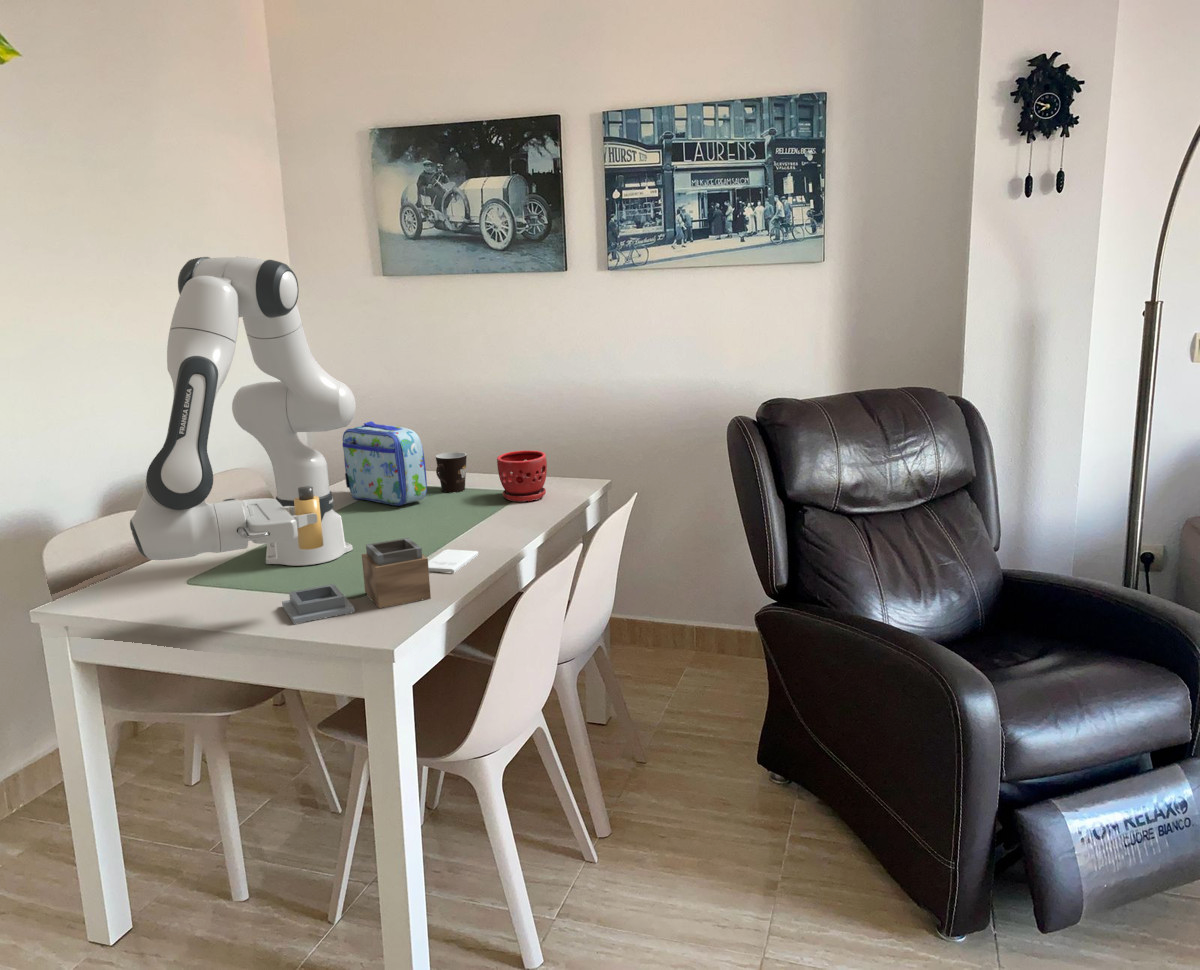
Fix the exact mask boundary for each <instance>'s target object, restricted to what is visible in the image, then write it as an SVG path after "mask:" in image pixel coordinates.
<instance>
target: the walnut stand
mask: <svg viewBox="0 0 1200 970" xmlns="http://www.w3.org/2000/svg"><path fill="white" fill-rule="evenodd" d="M365 549H366V553H362V554H361V560H362V561H361V562H362V572H363V583H364V593H365V592H366V593H367V595H368V596H369V597H370V598H371V599H372V600H373V601H374V602H375V603H374V602H373V601H372V600H371V599H370V598H369V597H368V596H367V595H366V596H367V597H368V598H369V599H370V600H371V601H372V602H373V603H374V604H375V606H376V607H377V608H378V607H379V608H380V609H383V608H382V607H385V608H389V607H388V606H390V607H394V606H393V605H395V606H399V604H400V605H404V604H403V603H405V604H410V603H414V602H413V601H415V602H419V601H418V600H420V601H423V600H422V599H425V600H428V599H427V598H430V599H432V598H431V596H432V595H431V585H430V583H431V582H430V572H429V569H428V561H429V560H428V559H429V558H428V557H426V556H425V555H424V554H423V549H422V547H421V546H419V545H418V544H417V543H416V542H414V541H413V540H412V539H411V538H409V537H405V538H398V539H393V540H386V541H380V542H375V543H369V544H365ZM409 602H410V603H409ZM379 608H378V609H379Z"/></svg>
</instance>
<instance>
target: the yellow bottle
mask: <svg viewBox="0 0 1200 970" xmlns="http://www.w3.org/2000/svg"><path fill="white" fill-rule="evenodd" d="M298 494H299V497H298V498H295V499H294V506H295V515H297V516H298V515H303V514H305V513H311V512H314V513H315V514H316V515H317V523H314V524H308V525H305V526H303V527H300V528H297V530H298V545H299V548H300V549H316V548H320V547H322V546H323V545H324V544H323V534H322V524H321V514H320V503H319V497H318V496H314V495H313V487H311V486H306V487H300V488H298Z"/></svg>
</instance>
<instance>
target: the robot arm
mask: <svg viewBox="0 0 1200 970" xmlns="http://www.w3.org/2000/svg"><path fill="white" fill-rule="evenodd" d="M177 277H178V278H177V290H178V293H179V297H178V299H177V302H176V305H175V307H174V311H173V314H172V319H171V321H170V328H169V332H168V337H167V348H166V363H167V364H166V366H167V367H166V369H167V371H168V374H169V376H170V378H171V381H172V386H173V387H172V388H173V400H172V406H171V411H170V416H169V417H170V418H169V423H168V427H167V428H168V429H167V433H166V437H165V440H164V443H163V446H162V447H161V449H160V450H159V451H158V452H157V453H156V455H155V457H154V458H153V459H152V461H151V462H150V464H149V466H148V468H147V470H146V471H147V472H146V475H145V476H146V478H145V483H144V488H143V492H142V494H141V495H142V496H141V499H140V501H139V503H138V506H137V508H136V510H135V512H134V514H133V516H132V517H131V518H130V520H129V527H130V531H131V534H132V538H133V540H134V543H135V545H136V548H137V549H138V552H139V553H140V554H141V555H142V556H143V557H144V558H147V559H148V560H152V561H169V560H180V559H189V558H193V557H196V556H198V555H201V554H204V553H214V554H215V553H216V554H218V553H226V552H232V551H238V550H244V549H248V547H249V542H250V541H251V542H252V543H253V544H258V545H265V544H266V554H265V564H267V565H283V566H284V565H286V566H310V565H311V566H312V565H316V564H323V563H327V562H330V561H331V562H332V561H333V560H336V559H339V558H340V557H342V556H343V555H345V553H348V552H351V551H353V550H354V549H353V548H354V547H353V545H352V544H351V543H349V542H346V541H345V539H346V538H345V534H344V526H343V521H342V516H341V514H339V513H338V512H336V511H335V510H334V509H333V508H334V497H333V493H332V491H331V490H330V482H329V481H330V480H329V472H328V470H329V469H328V462H327V460H326V458H325V457H324V455H323V454H322V453H321V452H320V451H319V450H317V449H315V448H313V447H310V446H308V445H306V444H305V443H304V442H303V441H302V440H301V438H300V437H299V435H298V433H311V432H313V433H315V432H318V433H319V432H330V431H334V430H338V429H343V428H346V427H348V425H350V424H351V422H352V421H353V419H354V416H355V414H356V411H357V406H356V405H357V404H356V397H355V395H354V393H353V391H352V390H351V388H350V387H349V386H348V385H347V384H346V383H344V382H342V381H340V380H338V379H336V378H335V377H333V376H332V375H330V374H329V373H328V372H327V371H326V370H324V368H323V367H322V366H321V365H320V364H319V363H318V362H317V360H316V358H314V356H313V354H312V351H311V349H310V346H309V343H308V339H307V337H306V332H305V330H304V326H303V322H302V318H301V314H300V313H301V312H300V311H299V306H298V304H297V303H298V298H299V292H300V291H299V289H300V288H299V282H298V278H297V276H296V274H295V272H294V271H293V270H292V268H291V267H290V266H289V265H288V264H286V263H283V262H281V261H278V260H274V259H267V260H265V259H261V258H254V257H248V256H247V257H245V256H234V257H231V256H230V257H228V256H227V257H209V256H202V257H201V256H200V257H197V258H196V257H195V258H193V259H189V260H188V261H186V262H185V264H184V265H183V267H182V268H181V269H180V272H179V274H178V276H177ZM239 318H242V320H243V321H242V322H243V326H244V329H245V333H246V338H247V341H248V344H249V348H250V352H251V355H252V361H253V362H254V364H255V365H256V366H257V368H258V369H259V370H260V371H261V372H263V373H264V374H266V375H268V376H270V377H273V378H274V379H277V380H278V381H261V382H256V383H252V384H247V385H243V386H241V387H240V388H239V389H237V391H236V392H235V395H234V397H233V399H232V403H231V411H232V415H233V418H234V420H235V422H236V423H237V425H238V426H239V428H241V429H243V430H244V431H245V432H247V433H248V434H250V435H251V436H253V438H255V439H256V440H257V441H258V443H259V444H260V445H261V446H262V447H263V448H264V449H263V450H264V451H265V452H266V454H267V455H268V457H269V461H270V464H271V465H272V466H271V467H272V470H273V475H274V482H275V489H276V490H275V491H276V497H275V498H270V497H269V498H268V497H267V498H266V497H265V498H249V499H247V498H246V499H236V498H234V497H231V498H224V499H223V500H222V501H219V502H217V501H216V502H211V503H208V502H206V499H207V498H208V496H209V494H211V491H212V489H213V485H214V472H213V467H212V464H211V462H210V458H209V454H208V442H209V435H210V427H211V423H212V416H213V411H214V405H215V401H216V397H217V395H218V393H219V391H220V389H221V388H222V386H223V384H224V383H225V381H226V378H227V376H228V374H229V372H230V369H231V366H232V362H233V358H234V355H235V351H236V346H237V345H236V344H237V341H238V340H237V339H238V333H239ZM306 486H311V487H313V495H314V496H318V497H319V503H320V514H321V524H322V534H323V544H324V545H323V546H322V547H320V548H316V549H300V548H299V545H298V530H297V528H300V527H303V526H305V525H308V524H314V523H317V515H316V514H315V513H314V512H311V513H305V514H303V515H298V516H297V515H295V506H294V499H295V498H298V497H299V494H298V488H300V487H306Z"/></svg>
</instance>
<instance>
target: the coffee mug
mask: <svg viewBox="0 0 1200 970" xmlns="http://www.w3.org/2000/svg"><path fill="white" fill-rule="evenodd" d="M467 455H468V454H467V453H466V452H460V451H459V452H458V451H457V452H456V451H455V452H454V451H452V452H443V453H438V454H436V455H435V461H436V466H437V467H436V469H435V471H436V472H435V473H436V476H437V478H438V480H439V481H440V487H441V491H443V492H442V493H445V494H446V493H447V494H448V493H449V494H454V493H453V492H456V493H461V492H464V491H465V490H466V477H467V476H466V474H467V473H466V472H467ZM463 490H464V491H463ZM460 491H461V492H460Z"/></svg>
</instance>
